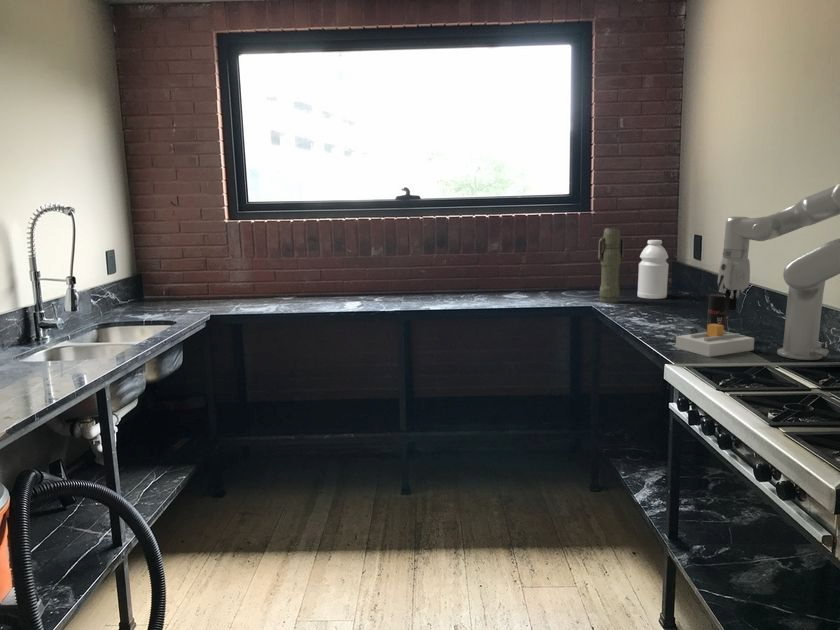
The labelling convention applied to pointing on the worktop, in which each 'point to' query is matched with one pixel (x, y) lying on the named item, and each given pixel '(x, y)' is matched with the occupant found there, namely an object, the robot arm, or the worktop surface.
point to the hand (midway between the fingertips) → (730, 309)
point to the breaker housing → (715, 343)
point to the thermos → (610, 264)
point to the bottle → (653, 271)
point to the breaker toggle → (715, 330)
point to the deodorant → (716, 310)
